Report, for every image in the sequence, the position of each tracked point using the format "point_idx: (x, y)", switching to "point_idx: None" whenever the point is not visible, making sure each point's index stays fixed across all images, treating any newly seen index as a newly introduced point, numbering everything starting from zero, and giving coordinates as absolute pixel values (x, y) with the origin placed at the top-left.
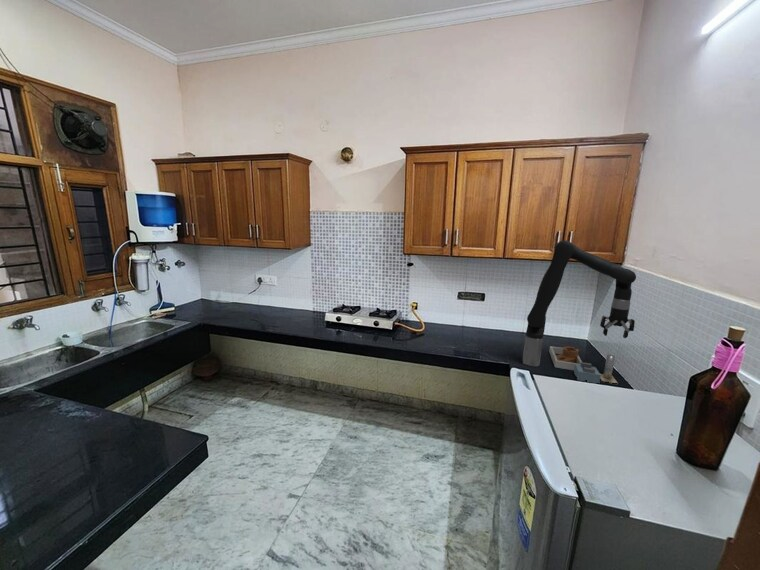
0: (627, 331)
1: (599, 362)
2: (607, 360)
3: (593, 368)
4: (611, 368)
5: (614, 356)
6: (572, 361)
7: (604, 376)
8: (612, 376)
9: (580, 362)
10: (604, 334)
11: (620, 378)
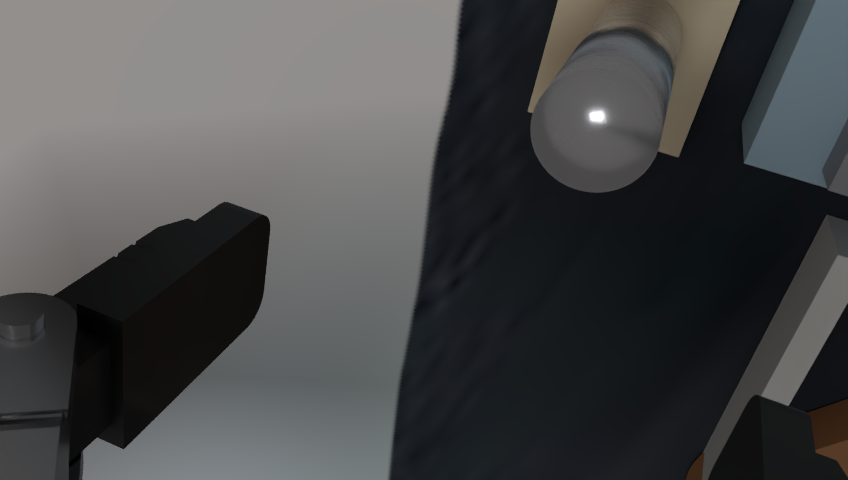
0: (59, 309)
1: (466, 419)
2: (664, 91)
3: (813, 117)
4: (615, 24)
5: (546, 105)
6: (819, 427)
7: (680, 32)
8: (539, 89)
9: (826, 334)
10: (821, 456)
11: (456, 79)
